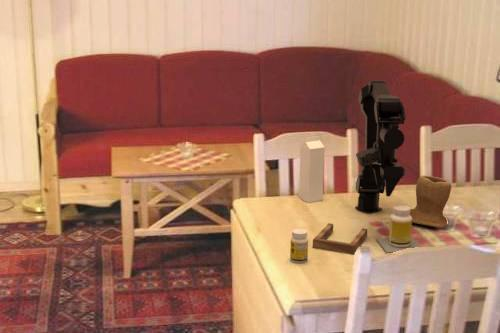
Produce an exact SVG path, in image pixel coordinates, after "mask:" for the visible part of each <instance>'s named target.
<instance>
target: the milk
mask: <svg viewBox="0 0 500 333" xmlns="http://www.w3.org/2000/svg"><path fill="white" fill-rule="evenodd" d="M299 148H300V150H299V182H298V183H299V184H298V186H299V187H298V199H300V200H301V201H304V202H306V203H307V204H310V202H311V203H315V202H320V201H321V200H322V201H323V199H324V197H323V196H324V179H325V178H324V174H325V150H326V149H325V148H326V147H325V145H324V144H323V143H322V141H321V136H319V135H317V136H310V137H309V136H308V137H305V139H304V142H303V143H301V145H300V147H299Z"/></svg>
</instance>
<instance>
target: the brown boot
mask: <svg viewBox="0 0 500 333" xmlns="http://www.w3.org/2000/svg"><path fill="white" fill-rule="evenodd" d="M451 190H452V184H451V182H450V181H449V180H447V179H445V178H441V177H437V176H431V175H420V176H419V178H418V179H417V182H416V187H415V196H416V198H415V199H416V206H415V207H414V208H412V209H411V208H410V214H409V215H411V217H412V224H417V225H422V226H427V227H433V228H444V227H446V226H448V224H447V220H446V218H447V217H446V218H445V216H444V209H445V207H446V206H447V202H448V201H449V198H450V196H451V195H450V194H451Z"/></svg>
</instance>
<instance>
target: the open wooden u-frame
mask: <svg viewBox="0 0 500 333" xmlns="http://www.w3.org/2000/svg"><path fill="white" fill-rule="evenodd" d="M333 232H334V223H329V222H328V223H327V224H326V225H325V227H323V228H322V229H321V230H320V231H319V232H318V234H317V235H316V236H315V237H313V239H312V248H313V249H318V250H324V251H330V252H335V253H337V252H338V253H342V254H343V253H344V254H348V255H349V254H350V255H354V254H355V253H356V252H357V250H358V249H359V248H360V247H361V245H362V244H363V243H364V242H365V240H366V239H367V238H368V228H365V227H364V228H363V227H362V228H361V230H360V231H359V232H358V233H357V234H356V235H355V236H354V238H353V239H352V240H351V242H345V241H344V242H343V241H337V240H330V239H328V238H329V237H330V236H331V235H332V234H333ZM359 246H360V247H359ZM358 247H359V248H358ZM357 248H358V249H357ZM356 249H357V250H356ZM355 251H356V252H355ZM354 252H355V253H354Z"/></svg>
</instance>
